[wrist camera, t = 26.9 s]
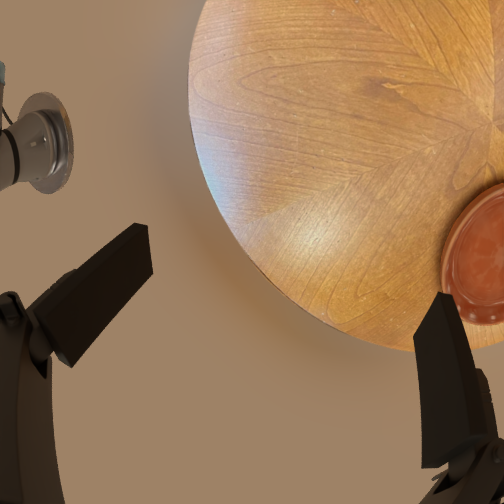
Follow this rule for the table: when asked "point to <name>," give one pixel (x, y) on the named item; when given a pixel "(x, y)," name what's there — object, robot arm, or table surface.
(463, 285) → the saucer
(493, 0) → the table surface
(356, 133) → the table surface
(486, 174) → the table surface
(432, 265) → the table surface
